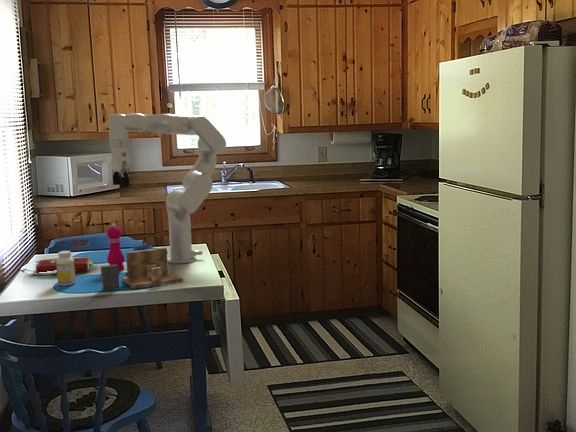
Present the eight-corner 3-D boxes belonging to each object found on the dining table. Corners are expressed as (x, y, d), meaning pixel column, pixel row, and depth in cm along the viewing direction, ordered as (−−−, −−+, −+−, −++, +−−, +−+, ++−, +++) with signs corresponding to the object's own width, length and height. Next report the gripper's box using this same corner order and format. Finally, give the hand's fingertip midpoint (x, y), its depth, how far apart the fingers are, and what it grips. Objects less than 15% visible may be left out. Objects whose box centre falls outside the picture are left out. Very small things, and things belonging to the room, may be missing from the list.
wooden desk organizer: (170, 274, 283) (169, 246, 281) (183, 281, 270) (181, 253, 268) (122, 280, 274) (120, 252, 272) (133, 289, 261) (131, 259, 259)
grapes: (157, 268, 294) (156, 240, 292) (155, 271, 287) (154, 243, 285) (130, 269, 293) (128, 241, 291) (127, 273, 287) (125, 244, 285)
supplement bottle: (67, 281, 276) (65, 249, 273) (79, 282, 272) (77, 251, 270) (54, 285, 270) (51, 252, 268) (66, 287, 266) (63, 254, 264)
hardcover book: (88, 272, 292) (87, 262, 291) (36, 275, 288) (35, 265, 287) (91, 265, 303) (90, 256, 303) (41, 268, 300) (40, 259, 299)
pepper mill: (120, 271, 289) (117, 224, 286) (104, 271, 290) (101, 224, 287) (128, 267, 296) (125, 221, 293) (112, 267, 297) (109, 221, 294)
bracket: (117, 287, 265) (116, 264, 263) (119, 288, 263) (118, 265, 261) (102, 289, 262) (100, 266, 261) (103, 290, 260) (102, 267, 258)
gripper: (135, 144, 279) (137, 186, 282) (120, 143, 293) (122, 183, 296) (117, 145, 275) (119, 188, 277) (103, 143, 289) (105, 184, 292)
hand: (121, 185), depth 287 cm, fingers open, 9 cm apart
